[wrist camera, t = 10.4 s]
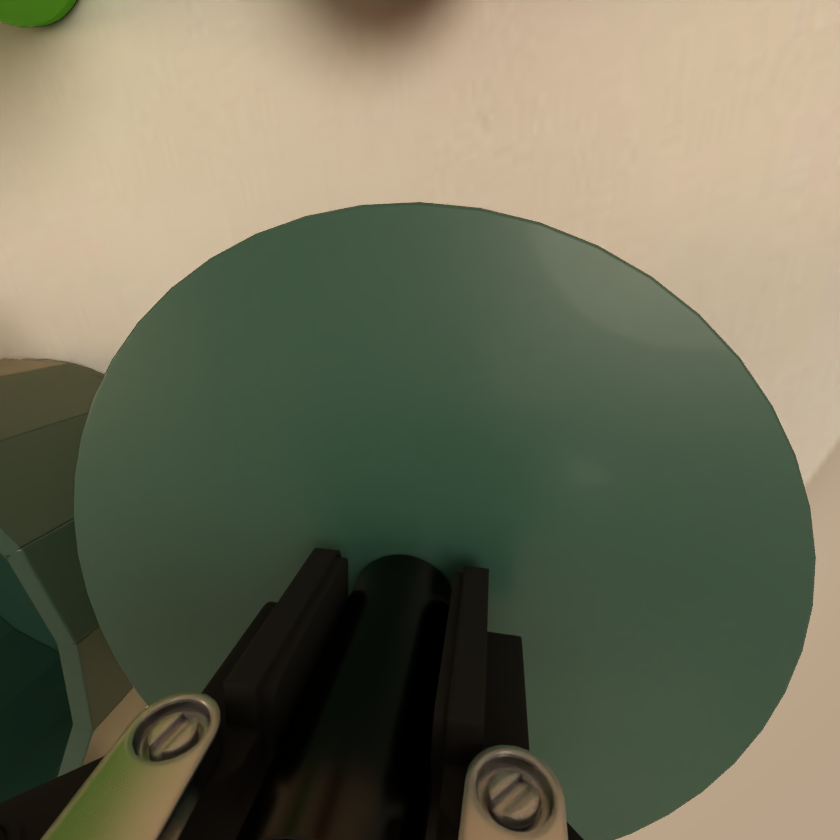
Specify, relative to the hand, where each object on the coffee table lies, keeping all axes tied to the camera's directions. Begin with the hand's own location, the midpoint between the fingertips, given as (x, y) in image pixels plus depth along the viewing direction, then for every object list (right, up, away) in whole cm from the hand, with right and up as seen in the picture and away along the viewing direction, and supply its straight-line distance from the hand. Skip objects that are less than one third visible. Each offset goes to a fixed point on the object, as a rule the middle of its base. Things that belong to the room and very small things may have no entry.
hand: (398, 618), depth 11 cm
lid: (0, 0, +1) cm, 1 cm away
